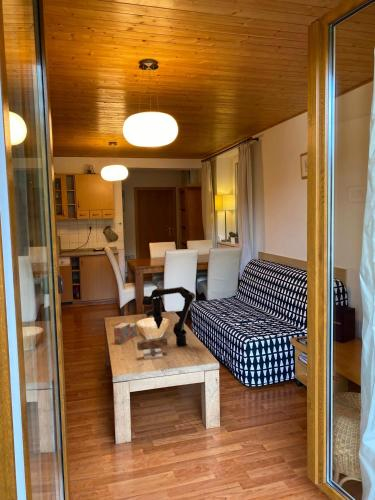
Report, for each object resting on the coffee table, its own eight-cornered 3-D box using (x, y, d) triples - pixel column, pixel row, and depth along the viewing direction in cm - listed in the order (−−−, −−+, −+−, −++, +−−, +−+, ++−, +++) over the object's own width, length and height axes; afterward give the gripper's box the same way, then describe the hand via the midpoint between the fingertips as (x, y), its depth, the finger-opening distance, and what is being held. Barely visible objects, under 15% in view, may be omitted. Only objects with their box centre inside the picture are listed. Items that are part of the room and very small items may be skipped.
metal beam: (165, 343, 271) (164, 336, 271) (167, 345, 268) (167, 338, 267) (137, 348, 262) (137, 341, 262) (139, 350, 259) (139, 343, 258)
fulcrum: (160, 350, 273) (160, 342, 273) (162, 358, 260) (162, 349, 259) (143, 351, 271) (142, 344, 271) (144, 359, 258) (144, 351, 257)
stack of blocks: (130, 334, 310) (129, 319, 309) (137, 335, 307) (136, 320, 306) (114, 343, 290) (113, 327, 289) (121, 344, 288) (121, 327, 287)
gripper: (145, 303, 294) (145, 324, 296) (146, 309, 276) (147, 331, 277) (159, 302, 296) (160, 322, 297) (162, 308, 277) (163, 330, 279)
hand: (157, 326), depth 288 cm, fingers open, 9 cm apart
